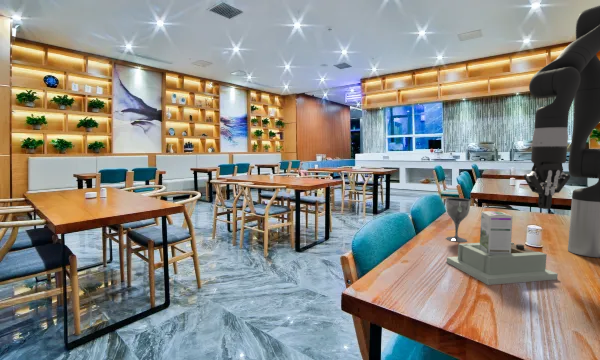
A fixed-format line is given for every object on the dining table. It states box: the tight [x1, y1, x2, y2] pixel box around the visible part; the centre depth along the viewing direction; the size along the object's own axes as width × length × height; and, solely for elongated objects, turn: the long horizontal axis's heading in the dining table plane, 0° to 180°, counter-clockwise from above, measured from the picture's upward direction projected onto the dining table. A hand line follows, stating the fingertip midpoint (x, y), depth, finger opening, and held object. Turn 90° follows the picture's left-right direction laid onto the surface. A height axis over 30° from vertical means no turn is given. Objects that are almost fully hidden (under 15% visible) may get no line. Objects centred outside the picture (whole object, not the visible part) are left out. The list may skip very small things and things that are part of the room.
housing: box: [446, 241, 559, 286], centre depth 86 cm, size 20×16×6 cm
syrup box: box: [479, 210, 513, 255], centre depth 85 cm, size 6×6×14 cm
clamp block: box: [511, 243, 536, 254], centre depth 87 cm, size 4×7×5 cm, turn 10°
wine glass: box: [445, 197, 471, 243], centre depth 116 cm, size 8×8×15 cm
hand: (544, 208), depth 87 cm, fingers closed
